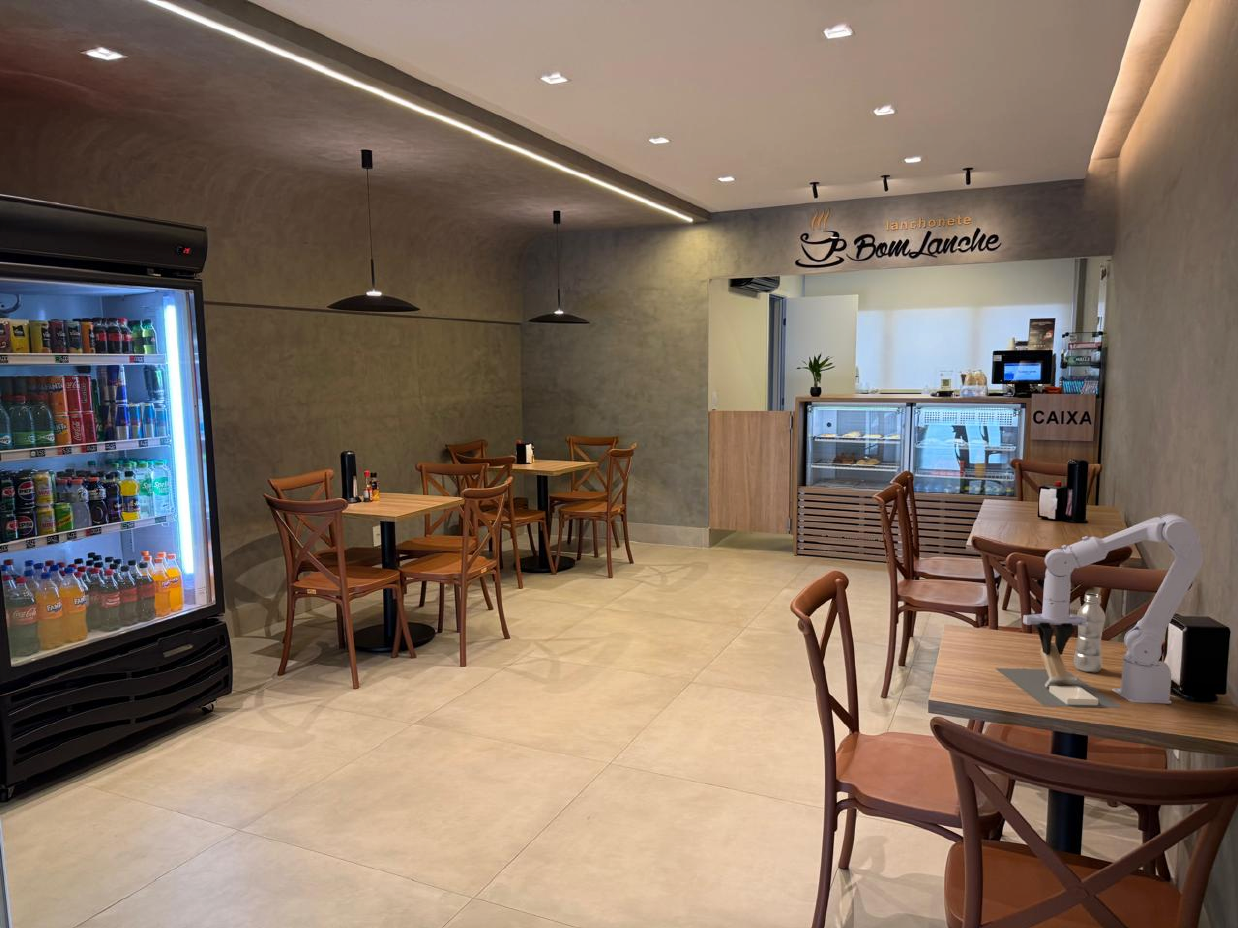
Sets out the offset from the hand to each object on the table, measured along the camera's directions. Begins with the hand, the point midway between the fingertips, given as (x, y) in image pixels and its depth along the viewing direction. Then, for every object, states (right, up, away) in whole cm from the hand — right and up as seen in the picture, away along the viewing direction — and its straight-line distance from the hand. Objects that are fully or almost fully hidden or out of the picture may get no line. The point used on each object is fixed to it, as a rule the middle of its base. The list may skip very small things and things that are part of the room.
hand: (1052, 653), depth 203 cm
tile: (0, -7, -6) cm, 9 cm away
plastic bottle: (+15, -7, +11) cm, 20 cm away
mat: (0, -8, -2) cm, 8 cm away
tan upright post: (0, -4, 0) cm, 4 cm away
